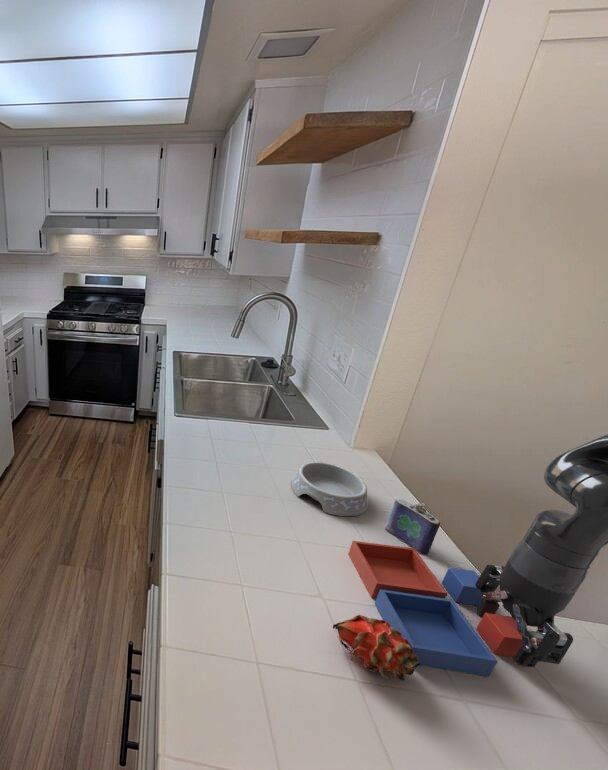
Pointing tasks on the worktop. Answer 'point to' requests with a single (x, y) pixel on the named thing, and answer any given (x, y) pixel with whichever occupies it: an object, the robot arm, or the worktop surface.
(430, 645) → the blue bin
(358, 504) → the dog bowl
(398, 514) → the flask
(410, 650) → the dragon fruit
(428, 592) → the red bin
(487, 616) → the red block
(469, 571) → the blue block
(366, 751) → the worktop surface
